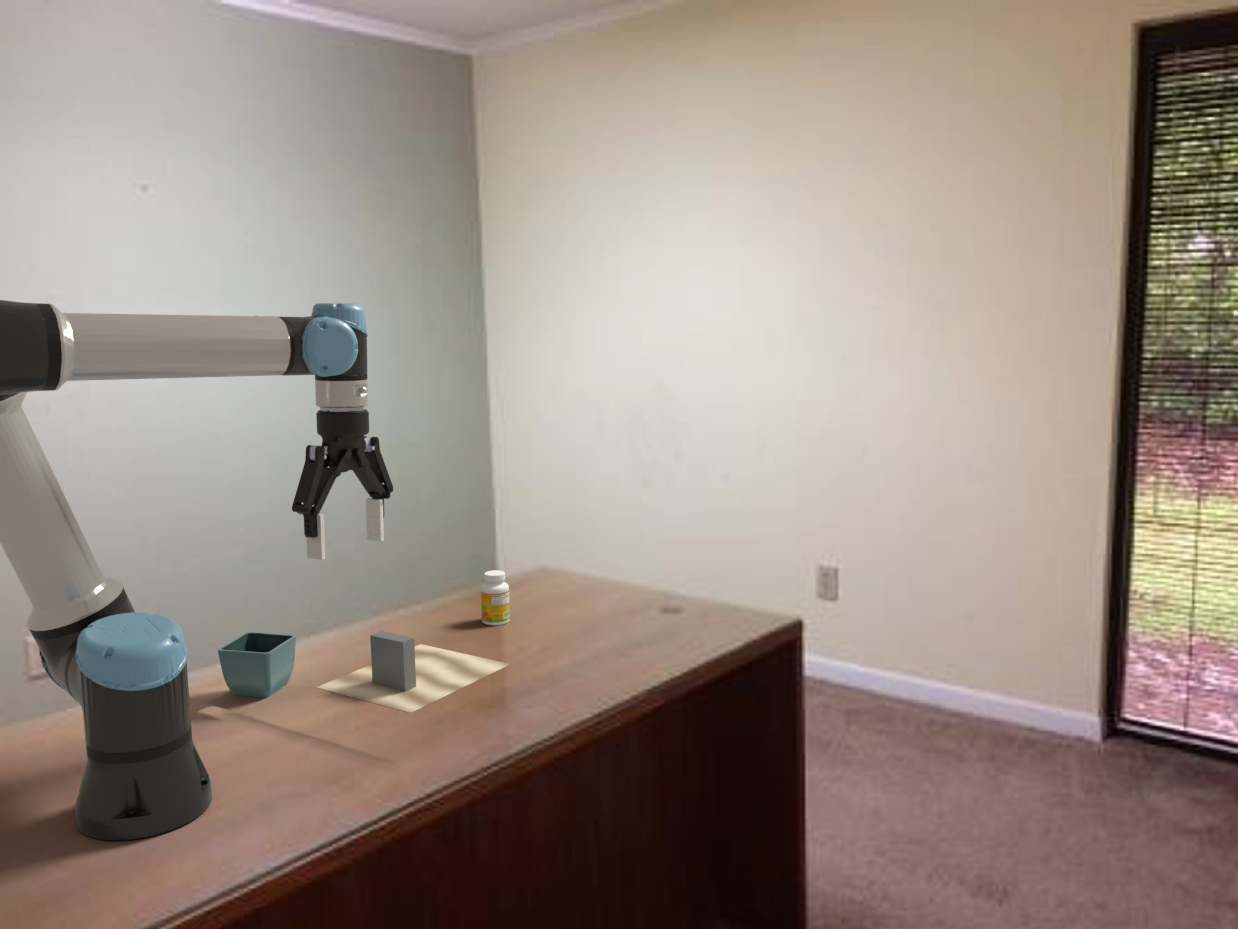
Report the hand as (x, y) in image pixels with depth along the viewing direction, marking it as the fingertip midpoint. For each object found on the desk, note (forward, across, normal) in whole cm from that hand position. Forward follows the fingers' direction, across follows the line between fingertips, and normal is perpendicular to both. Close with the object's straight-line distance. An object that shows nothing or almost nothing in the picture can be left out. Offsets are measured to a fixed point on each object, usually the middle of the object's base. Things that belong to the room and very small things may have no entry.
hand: (347, 549), depth 156 cm
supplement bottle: (+24, +44, +1) cm, 50 cm away
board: (+24, +12, -4) cm, 27 cm away
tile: (+23, +7, -3) cm, 24 cm away
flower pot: (+25, -3, +15) cm, 29 cm away
